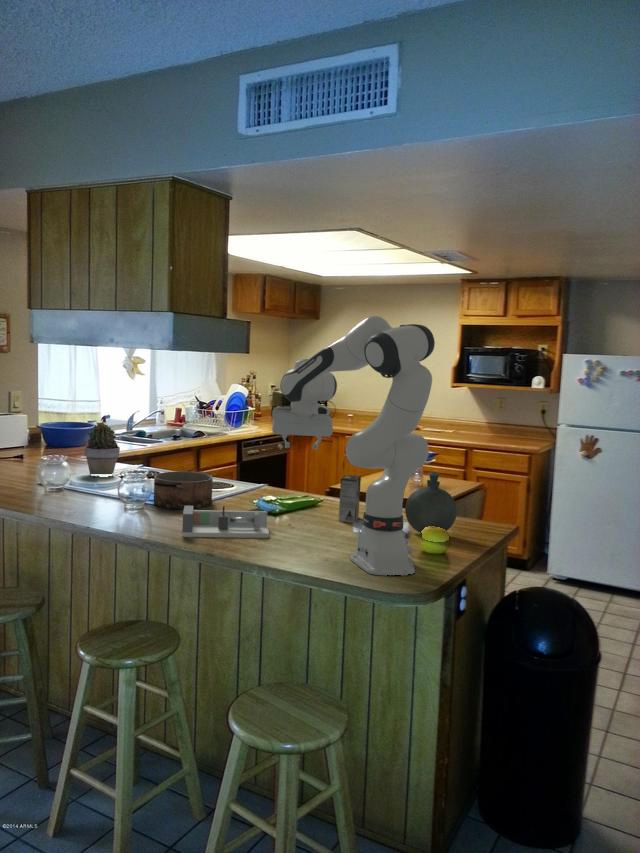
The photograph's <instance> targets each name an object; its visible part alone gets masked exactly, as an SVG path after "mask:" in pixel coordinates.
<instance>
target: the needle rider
mask: <svg viewBox="0 0 640 853" xmlns="http://www.w3.org/2000/svg"><path fill="white" fill-rule="evenodd" d="M225 509H226V508H225V505H222V511H223V513H219V520H218V529H228V513H224V511H226V510H225Z"/></svg>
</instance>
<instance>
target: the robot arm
mask: <svg viewBox="0 0 640 853" xmlns="http://www.w3.org/2000/svg"><path fill="white" fill-rule="evenodd" d="M434 350H435V337H434V334H433V332H432V330H430V328H428V327H427V326H426V325H423V324H417V323H415V324H414V323H413V324H412V323H411V324H400V326H398V327H397V326H395V327H392V326H391V325H390V324H389V322H388V321H387V320H386V319H385V318H384V317H381V316H379V315H370V316H368V317H366V318H364V319H363V320H361V321H360V322H358V323H357V324H356V325H354V326H353V327H352V328H351V329H350V330H349V331H347V333H345V335H343V336H342V337H341V338H339V339H338V340H336V341H335V342H333V343H331V344H329V345H327V346H326V347H324V348H321V349H320V350H319V351H317V352H315V353H313V355H312V356H310V357H309V358H305V359H304V358H303V359H298V360H297V361H295V362H294V367H293V369H292V368H291V369H288V370H287V371H286V372H285V374H284V375H283V376H282V378H281V380H280V392H281V393H282V395H283V396H284V398H286V400H288V401H289V402H290V406H278V405H277V407H274V408H273V409H272V412H271V417H272V419H273V421H272V427H271V428H272V429H271V431H272V433H273V434H274V435H282V436H281V438H282V440H283V442H284V448H285V449H290V444H291V442H289V441H287V438H288V436H309V437H316V439H317V440H316V442H314V443H312V449H313V450H318V448H319V447H318V446H319V444H320V442H321V441H322V440H323V439H322V437H331V436H332V435H333V432H334V431H333V430H334V429H333V427H334V426H333V419H332V417H331V416H330V414H331V409H330V408H329V407H328V406H326V405H323V404H320V403H318V402H325V401H330V400H332V399H333V398H334V397H335V395H336V392H337V389H338V383H337V378H336V377H335V375H334V374H333V373H334V372H347V371H348V372H349V371H350V372H351V371H358V370H361V369H363V368H365V367H366V366H368V365H369V366H370V367H371V369H372V370H374V371H375V372H377V373H379V374H380V375H381V377H383V378H387V379H392V382H391V385H390V388H389V391H388V393H387V396H386V399H385V402H384V404H383V406H382V409H381V410H380V413H379V414H378V415H377V417H376V418H375V419H374V420H373V421H372V422H371V423H369V425H368V426H366V427H365V428H363V429H362V430H360V431H358V432H356V433H353V434H352V435H351V436H350V437H349V439H348V440H347V442H346V446H345V454H346V458H347V460H348V462H349V464H351V465H352V466H354V467H358V468H360V469H361V468H363V469H368V470H369V469H371V470H376V469H377V470H378V469H379V470H380V469H383V473H382V475H381V476H380V477H379V478H377V479H376V480H373V481H372V482H371V483H369V485H368V486H367V488H366V495H365V507H364V508H365V511H364V512H363V516H362V524H363V525H362V527H361V528H360V530H357V534H356V543H355V553H353V554H351V555H350V556H349V560H351V561H352V562H353V563H355V564H356V565H357V566H358V567H360V568H361V569H362V570H364V572H366V573H367V574H370V575H377V576H387V575H390V576H391V575H393V576H394V575H401V576H409V575H408V574H411V575H414V574H413V573H416V572H415V567H414V564H413V560H412V557H411V555H412V554H413V546H411V545H408V544H409V543H410V542H409V539H408V538H406V532H405V531H404V530H403V529H404V515H403V506H404V504H403V503H404V496H405V491H406V487H407V485H408V483H409V481H410V479H411V477H412V476H413V474H415V473H416V471H417V470H418V469H419V468H421V467H422V466H423V465H424V464H425V463H426V461H427V459H428V458H429V450H430V449H429V444H428V442H427V440H426V439H425V437H424V436H423V435H421V434H417V433H412V432H414V431H415V430H416V429H417V427H418V426H419V424H420V420H421V419H422V416H423V414H424V411H425V408H426V406H427V403H428V401H429V398H430V395H431V390H432V386H433V375H432V373H431V371H430V369H429V368H427V367H426V366H425V365H423V364H421V362H422V361H424V360H426V359H427V358H428V357H430V356H431V355H432V353H433V352H434ZM390 576H389V577H390ZM391 577H392V576H391Z"/></svg>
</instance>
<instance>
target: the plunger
mask: <svg viewBox="0 0 640 853" xmlns="http://www.w3.org/2000/svg"><path fill="white" fill-rule="evenodd" d="M253 511H254V518H244V517H230V522H253V526H254V530H259V512H258V511H259V510H253Z"/></svg>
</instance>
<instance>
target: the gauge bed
mask: <svg viewBox="0 0 640 853" xmlns="http://www.w3.org/2000/svg"><path fill="white" fill-rule="evenodd" d="M193 507H194V506H184V509H183V511H182V533H181V534H182V535H181V537H182V538H185V537H186V538H236V539H237V538H240V539H241V538H244V539H245V538H248V539H249V538H250V539H256V538H257V539H268V538H270V532H269V528H268V511H264V510H263V511H261V510H257V511H258V512H259V530H254V526H253V522H230V517H244V518H254V511H255V510H251V511H250V510H225V511H224V513H228V529H218V520H219V513H223V510H210V509H209V510H207V509H206V510H204V509H202V510H199V509H193Z"/></svg>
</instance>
